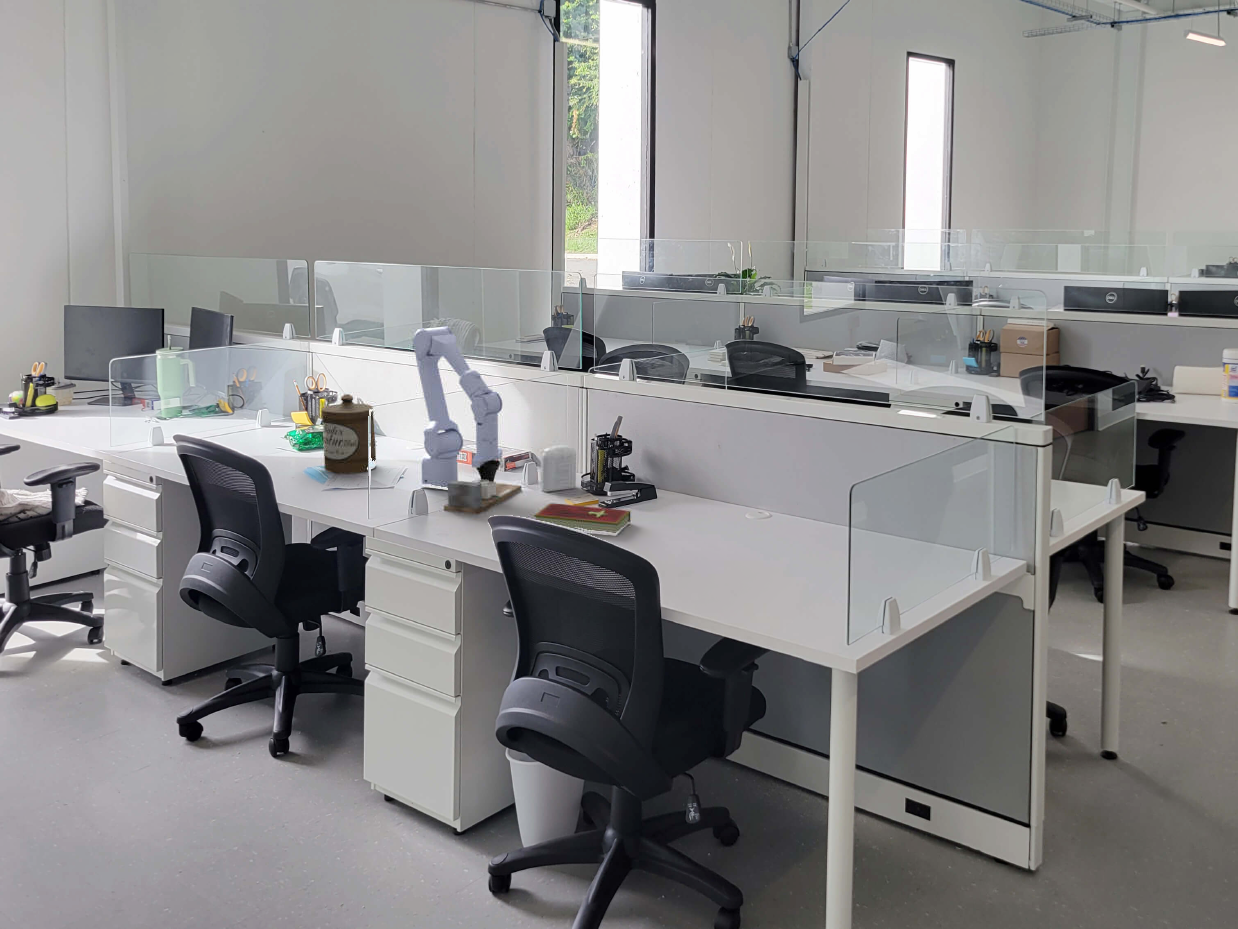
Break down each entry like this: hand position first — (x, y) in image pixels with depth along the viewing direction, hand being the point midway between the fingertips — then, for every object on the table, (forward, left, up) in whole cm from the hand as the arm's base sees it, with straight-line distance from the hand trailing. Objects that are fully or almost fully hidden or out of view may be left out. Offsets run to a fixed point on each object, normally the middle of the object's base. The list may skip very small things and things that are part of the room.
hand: (487, 487), depth 289 cm
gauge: (+1, -5, -1) cm, 6 cm away
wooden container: (-52, +15, -3) cm, 54 cm away
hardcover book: (+33, -15, -3) cm, 36 cm away
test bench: (0, -2, -3) cm, 4 cm away
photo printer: (+14, +16, -3) cm, 21 cm away
